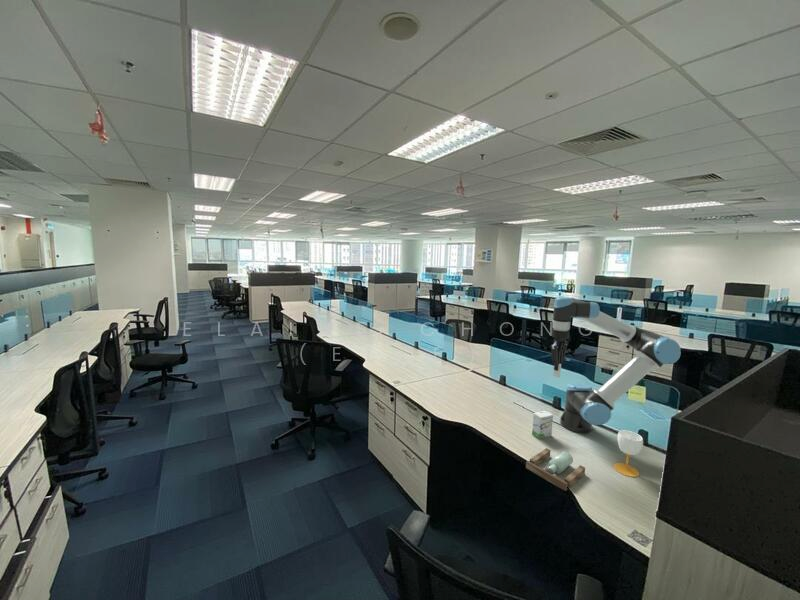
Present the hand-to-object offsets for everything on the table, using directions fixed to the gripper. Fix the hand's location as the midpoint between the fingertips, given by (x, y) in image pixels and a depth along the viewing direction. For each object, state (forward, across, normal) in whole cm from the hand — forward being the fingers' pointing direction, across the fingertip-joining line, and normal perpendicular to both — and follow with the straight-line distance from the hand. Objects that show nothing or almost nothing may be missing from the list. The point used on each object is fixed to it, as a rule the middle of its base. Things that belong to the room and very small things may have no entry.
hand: (556, 376), depth 158 cm
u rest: (+32, +24, +14) cm, 43 cm away
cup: (+33, -2, +32) cm, 46 cm away
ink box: (+33, +2, -4) cm, 33 cm away
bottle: (+30, +15, +14) cm, 36 cm away
